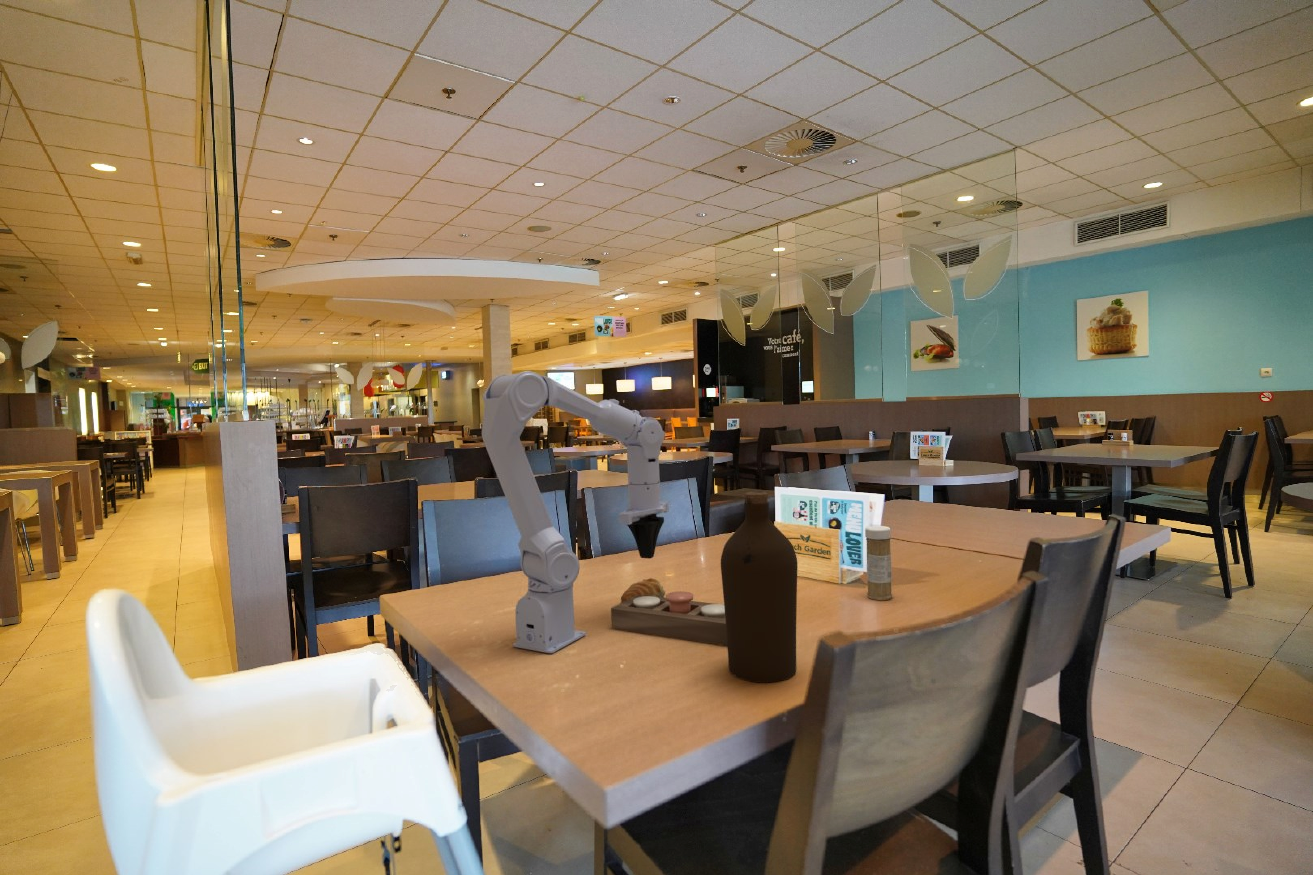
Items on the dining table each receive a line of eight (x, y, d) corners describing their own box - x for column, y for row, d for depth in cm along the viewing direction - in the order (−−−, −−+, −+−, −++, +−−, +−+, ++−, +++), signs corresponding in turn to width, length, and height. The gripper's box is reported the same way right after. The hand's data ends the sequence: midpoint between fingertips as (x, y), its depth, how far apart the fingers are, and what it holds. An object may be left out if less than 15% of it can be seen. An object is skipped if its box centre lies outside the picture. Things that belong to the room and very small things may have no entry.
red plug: (686, 624, 108) (685, 600, 108) (662, 620, 110) (661, 597, 110) (698, 616, 112) (697, 592, 112) (674, 613, 114) (673, 590, 114)
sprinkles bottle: (875, 592, 127) (873, 524, 127) (897, 597, 124) (895, 526, 123) (862, 597, 124) (860, 527, 124) (883, 602, 121) (881, 530, 120)
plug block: (730, 646, 102) (730, 624, 102) (611, 628, 112) (610, 608, 112) (751, 628, 110) (750, 607, 109) (638, 613, 120) (637, 594, 120)
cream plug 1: (652, 628, 111) (651, 605, 111) (629, 625, 113) (628, 602, 113) (665, 620, 115) (664, 597, 115) (642, 617, 117) (641, 595, 117)
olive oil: (811, 681, 88) (805, 495, 87) (733, 688, 87) (726, 499, 86) (787, 652, 98) (782, 486, 97) (718, 658, 97) (711, 490, 96)
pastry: (640, 610, 123) (639, 590, 123) (612, 606, 126) (611, 586, 126) (667, 597, 130) (666, 578, 130) (640, 593, 134) (639, 575, 134)
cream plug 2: (723, 638, 105) (722, 613, 105) (697, 634, 107) (696, 610, 107) (734, 629, 109) (733, 605, 109) (709, 626, 111) (708, 602, 111)
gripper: (642, 488, 110) (646, 568, 111) (681, 479, 123) (684, 550, 124) (607, 487, 114) (611, 564, 114) (649, 478, 127) (651, 548, 127)
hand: (647, 557), depth 119 cm, fingers closed
